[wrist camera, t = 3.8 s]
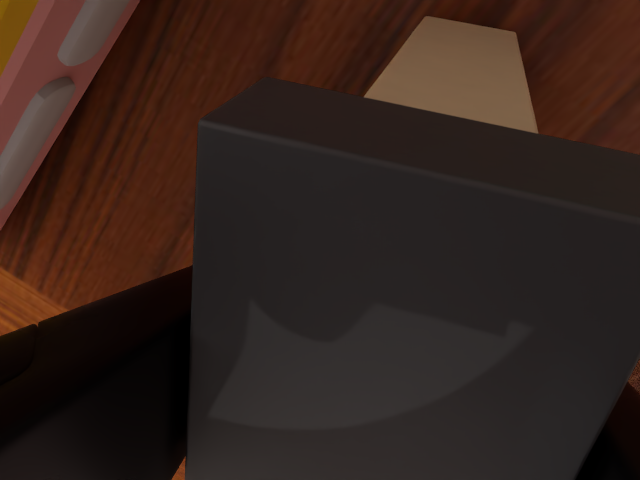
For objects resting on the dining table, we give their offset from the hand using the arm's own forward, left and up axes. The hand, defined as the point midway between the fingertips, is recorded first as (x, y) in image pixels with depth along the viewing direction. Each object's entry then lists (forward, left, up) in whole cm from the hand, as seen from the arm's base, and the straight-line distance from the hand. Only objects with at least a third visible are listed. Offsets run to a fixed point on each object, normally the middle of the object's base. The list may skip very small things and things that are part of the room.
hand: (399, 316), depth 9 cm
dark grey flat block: (0, 0, +1) cm, 1 cm away
